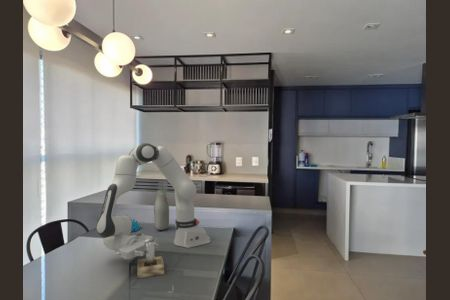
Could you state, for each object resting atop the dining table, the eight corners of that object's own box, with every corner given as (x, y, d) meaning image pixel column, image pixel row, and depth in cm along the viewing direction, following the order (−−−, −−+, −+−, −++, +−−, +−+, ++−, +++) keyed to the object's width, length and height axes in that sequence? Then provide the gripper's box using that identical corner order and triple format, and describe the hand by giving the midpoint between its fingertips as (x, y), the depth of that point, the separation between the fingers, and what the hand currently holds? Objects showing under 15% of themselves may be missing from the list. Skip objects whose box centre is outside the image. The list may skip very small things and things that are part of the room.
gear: (130, 231, 174) (125, 219, 179) (125, 236, 176) (120, 224, 181) (143, 229, 183) (138, 217, 188) (139, 234, 185) (134, 222, 190)
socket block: (162, 262, 133) (162, 255, 133) (164, 273, 122) (164, 266, 121) (137, 266, 129) (137, 259, 129) (137, 278, 118) (137, 270, 118)
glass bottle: (164, 226, 190) (163, 188, 189) (171, 229, 182) (171, 190, 181) (151, 229, 183) (151, 190, 182) (159, 233, 175) (158, 192, 174)
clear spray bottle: (152, 265, 130) (152, 235, 129) (158, 267, 128) (158, 236, 127) (141, 272, 123) (141, 240, 122) (148, 274, 121) (147, 242, 121)
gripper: (112, 246, 122) (134, 251, 115) (144, 232, 140) (164, 236, 134) (112, 259, 122) (134, 265, 116) (144, 244, 140) (164, 248, 134)
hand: (150, 250), depth 125 cm, fingers open, 8 cm apart
